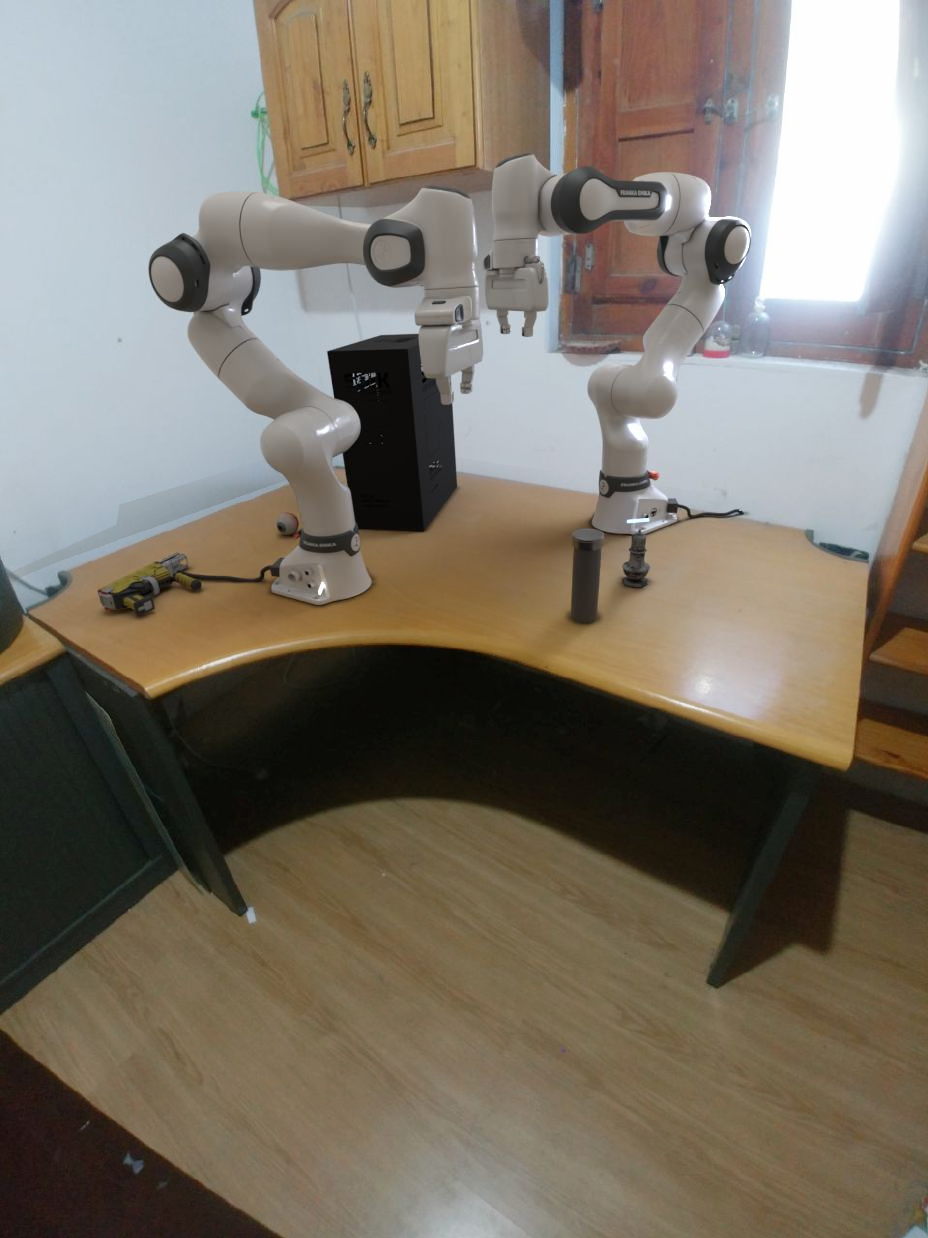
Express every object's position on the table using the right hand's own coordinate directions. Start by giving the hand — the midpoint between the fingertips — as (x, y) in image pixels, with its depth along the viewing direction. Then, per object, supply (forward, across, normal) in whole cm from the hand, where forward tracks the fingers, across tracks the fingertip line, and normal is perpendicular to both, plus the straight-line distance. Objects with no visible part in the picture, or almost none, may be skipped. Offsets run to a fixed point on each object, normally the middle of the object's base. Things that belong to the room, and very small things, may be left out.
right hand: (516, 335), depth 125 cm
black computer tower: (+48, +44, +12) cm, 66 cm away
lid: (+31, -36, +5) cm, 48 cm away
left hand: (+7, -21, +23) cm, 32 cm away
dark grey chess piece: (+48, -29, -13) cm, 58 cm away
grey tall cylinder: (+48, -36, +5) cm, 60 cm away
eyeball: (+48, +41, +49) cm, 80 cm away
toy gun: (+48, +20, +80) cm, 96 cm away
